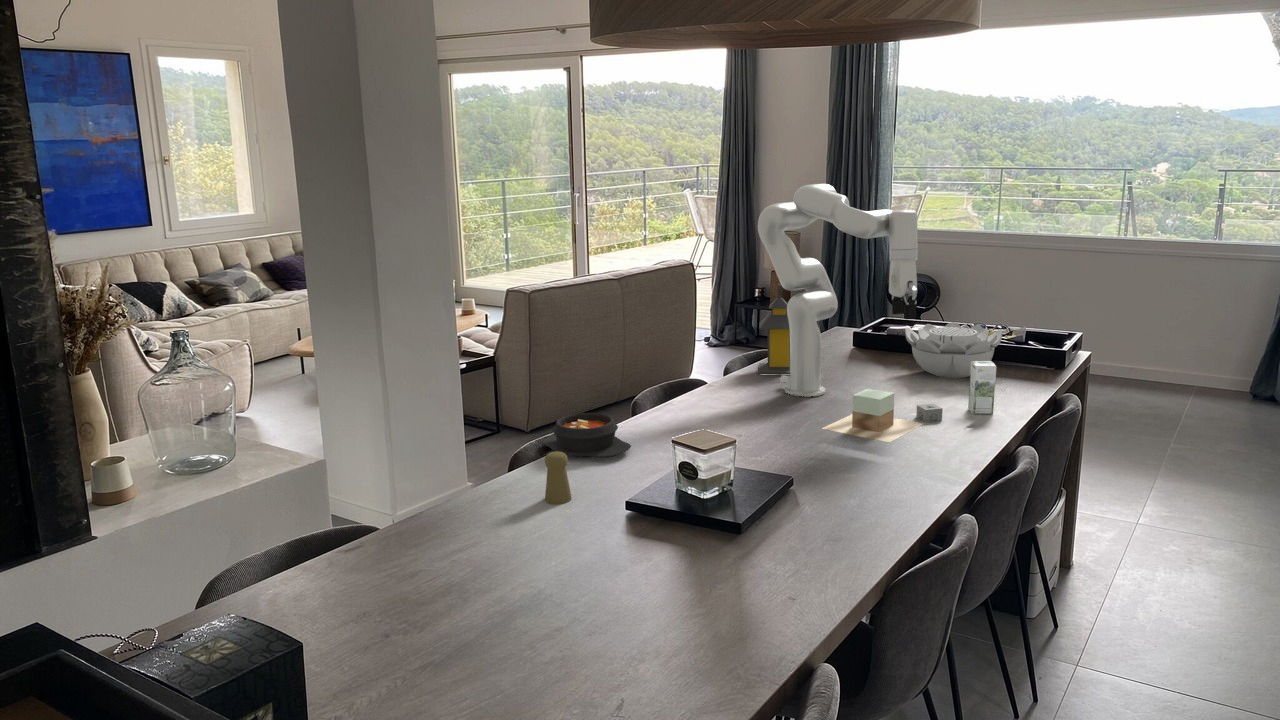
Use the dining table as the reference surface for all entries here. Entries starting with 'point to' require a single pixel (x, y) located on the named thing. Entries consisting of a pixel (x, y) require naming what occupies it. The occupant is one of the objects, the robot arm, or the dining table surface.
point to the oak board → (886, 435)
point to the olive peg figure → (557, 479)
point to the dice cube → (929, 412)
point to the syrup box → (982, 387)
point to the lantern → (777, 338)
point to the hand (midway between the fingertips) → (904, 316)
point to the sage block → (873, 402)
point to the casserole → (586, 436)
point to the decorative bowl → (951, 348)
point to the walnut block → (872, 421)
